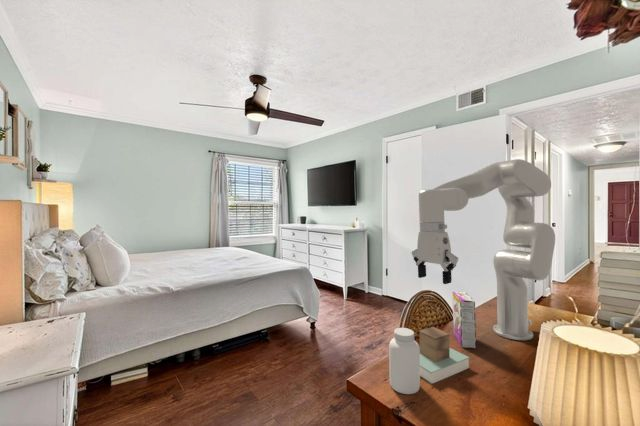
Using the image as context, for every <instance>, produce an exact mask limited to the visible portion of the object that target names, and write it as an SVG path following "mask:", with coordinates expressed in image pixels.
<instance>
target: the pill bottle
mask: <svg viewBox="0 0 640 426" xmlns="http://www.w3.org/2000/svg"><path fill="white" fill-rule="evenodd" d="M388 346H389V347H388V349H389V353H388V355H389V360H388V362H389V368H388V369H389V370H388V371H389V372H388V373H389V385H390V387H391V388H392V390H393V391H396V392H397V393H400V394H402V395H403V394H404V395H413V394H416V393H418V392H419V390H420V388H421V387H420V385H421V377H420V348H419V347H420V344H419V343H418V342H417V341H416V340H415V332H414V330H412V329H410V328H407V327H397V328H395V329H394V331H393V338H392V339H391V340H390V342H389V345H388Z"/></svg>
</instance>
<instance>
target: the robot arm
mask: <svg viewBox="0 0 640 426" xmlns="http://www.w3.org/2000/svg"><path fill="white" fill-rule="evenodd" d="M551 188H552V181H551V178H550V176H549V175H548V174H547V173H546V172H545V171H543V170H542V169H540V168H538V166H535V165H534V164H532V163H531V162H529V161H527V160H525V159H519V158H517V159H516V158H515V159H509V160H503V161H499V162H495V163H491V164H489V165H487V166H485V167H483V168H481V169H479V170H477V171H475V172H473V173H470V174H467V175H465V176H462V177H460V178H456V179H452V180H450V181H448V182H444V183H443V184H440V185H438V186H436V187H434V188H432V189H423V190H420V191H419V192H418V212H419V213H418V216H419V231H418V234H417V247H416V249H414V250H412V251H411V255H412V257H413V261H414V262H415V265H416V266H417V274H418V275H417V276H418V278H419V279H422V278H425V277H427V265H426V263H429V264H435V265H440V266H441V267H442V269H443V270H442V271H441V273H442V285H443V284H444V285H448V284H451V283H452V271H453V270H454V268H456V266H457V264H458V261H459V257H458V256H456V255H455V254H453V253H452V247H451V241H450V237H449V233H448V231H446V230H447V229H448V225H447V224H445V212H452V211H453V212H456V211H460V210H463V209H464V208H466V207H467V205H468V203H469V199H470V200H471V199H475V198H478V197H482V196H485V195H487V194H488V193H490V192H492V191H494V190H496V189H497V190H498V192H499V194H500V196H501V197H502V199H503V200H504V202H505V205H506V207H507V212H506V217H505V218H506V219H505V223H504V228H503V241H504V243H505V244H506V245H507V246H510V247H516V248H523V249H529V250H530V251H525V250H516V249H507V248H506V249H501V250H498V251H497V252H495V254H494V256H493V259H492V260H493V261H492V262H493V267H494V270H495V275H496V276H495V277H496V299H497V300H496V304H497V306H496V309H497V313H496V314H497V316H496V317H497V324H494V325H493V326H492V330H493V332H494V333H495V334H496V335H499V336H500V337H503V338H506V339H510V340H514V341H530V340H532V339H533V338H534V333H533V332H532V330H529V326H531V325H533V321H532V320H531V319H528V318H529V317H528V315H529V313H528V312H529V310H528V309H529V308H528V306H529V305H528V286H527V284H526V282H525V280H524V279H528V280H533V281H544V280H546V279H547V278H548V276H549V275H550V272H551V267H552V264H553V258H554V250H555V245H556V233H555V230H554V228H553V227H552V226H551V225H550V224H547V223H543V222H534V217H535V209H534V207H533V205H532V203H531V202H530V201H529V200H528V199H527V198H532V197H536V198H537V197H542V196H545V195H547V194H548V193H549V192H550V190H551Z"/></svg>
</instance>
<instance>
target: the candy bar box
mask: <svg viewBox="0 0 640 426" xmlns="http://www.w3.org/2000/svg"><path fill="white" fill-rule="evenodd" d="M452 318H453V335H454V336H455V338H456V340H457V342H458V343H459V345H460V347H461V348H464V349H477V333H476V332H477V327H476V301H475V300H474V299H473V298H472V297H471V295H469V294H468V293H467V292H466V291H452Z"/></svg>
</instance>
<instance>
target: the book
mask: <svg viewBox="0 0 640 426" xmlns="http://www.w3.org/2000/svg"><path fill="white" fill-rule="evenodd" d="M419 348H420V346H419ZM449 351H450V357H449V358H446V359H443V360H441V361H438V362H434V361H432V360H431V359H429V358H427V357H425V356H424V355H422V354H420V378H422V379H424V380H425V381H426V382H427V383H429V384H430V385H432V384H433V385H434V384H436V383H437V382H440V381H442V380H444V379H447V378H449V377H452V376H454V375H456V374H458V373H461V372H464V371H465V370H466V371H467V369H470V363H469V361H470V356H468V355H465V354H464V353H462V352H459V351H457V350H455V349H453V348H451V347H449Z"/></svg>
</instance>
